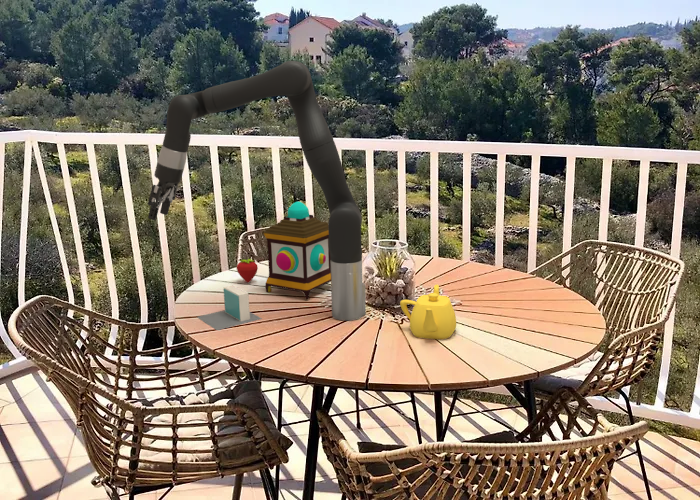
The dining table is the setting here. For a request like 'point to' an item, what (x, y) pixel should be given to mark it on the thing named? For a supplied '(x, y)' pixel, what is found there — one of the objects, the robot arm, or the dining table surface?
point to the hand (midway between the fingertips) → (157, 216)
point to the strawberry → (247, 269)
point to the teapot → (431, 316)
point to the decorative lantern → (298, 252)
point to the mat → (224, 320)
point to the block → (236, 303)
